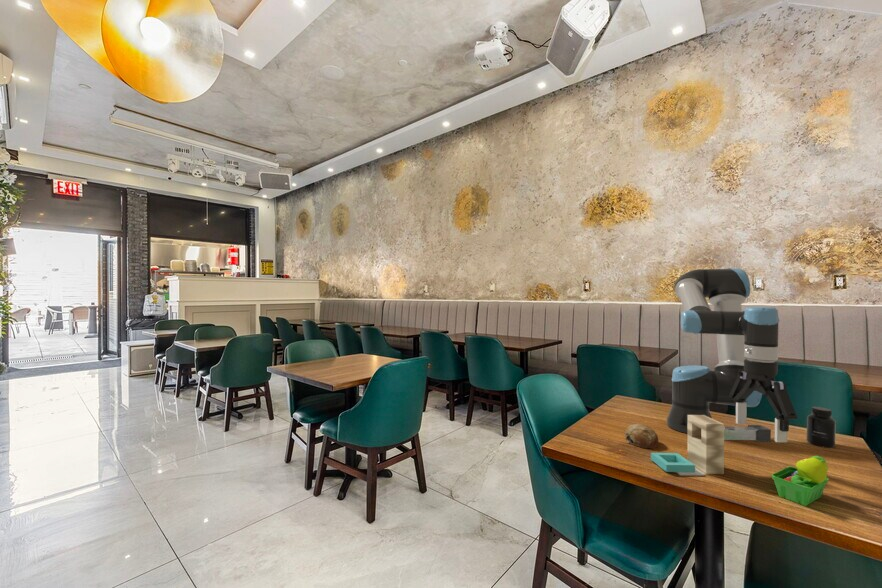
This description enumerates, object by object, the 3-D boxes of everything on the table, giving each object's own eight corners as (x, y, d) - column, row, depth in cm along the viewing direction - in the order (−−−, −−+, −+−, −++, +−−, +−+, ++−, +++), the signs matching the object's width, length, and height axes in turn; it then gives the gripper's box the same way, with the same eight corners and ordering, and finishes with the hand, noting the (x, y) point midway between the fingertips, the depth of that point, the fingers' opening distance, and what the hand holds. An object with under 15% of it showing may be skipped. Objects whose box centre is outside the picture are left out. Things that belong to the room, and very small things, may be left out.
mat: (658, 459, 113) (658, 458, 113) (681, 459, 113) (681, 458, 113) (679, 475, 103) (679, 473, 103) (705, 475, 103) (705, 474, 103)
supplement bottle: (815, 446, 124) (815, 410, 124) (801, 439, 130) (801, 404, 130) (841, 449, 122) (841, 412, 122) (826, 441, 128) (826, 406, 128)
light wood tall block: (706, 473, 104) (706, 424, 104) (687, 461, 112) (687, 414, 112) (723, 474, 104) (724, 424, 104) (703, 461, 112) (704, 414, 112)
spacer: (677, 459, 112) (650, 459, 112) (677, 453, 112) (650, 452, 112) (695, 472, 104) (666, 471, 104) (695, 465, 104) (666, 464, 104)
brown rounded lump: (622, 448, 130) (615, 429, 129) (641, 432, 134) (634, 413, 132) (647, 460, 121) (640, 439, 120) (667, 443, 124) (660, 422, 123)
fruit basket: (789, 484, 99) (790, 442, 99) (836, 500, 91) (837, 454, 91) (769, 495, 93) (770, 450, 93) (817, 513, 86) (818, 464, 86)
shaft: (710, 441, 106) (710, 429, 107) (701, 436, 110) (701, 424, 110) (770, 442, 106) (770, 429, 106) (759, 437, 110) (760, 425, 110)
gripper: (716, 352, 121) (715, 417, 121) (787, 369, 96) (786, 450, 96) (739, 352, 121) (738, 417, 121) (816, 369, 96) (815, 450, 96)
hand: (759, 432), depth 109 cm, fingers open, 13 cm apart
